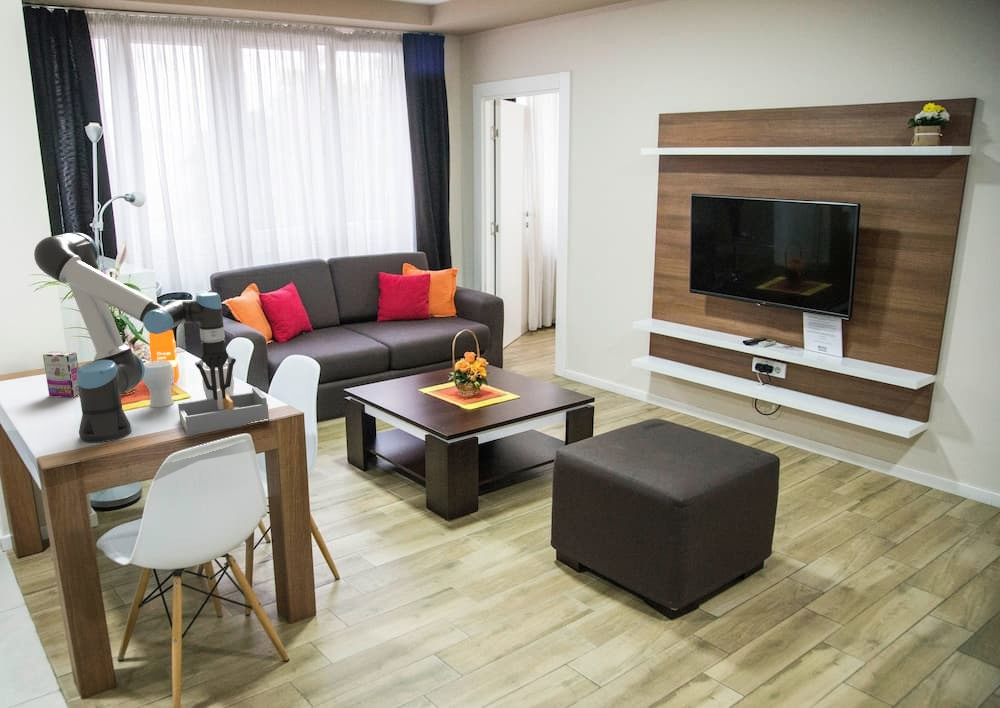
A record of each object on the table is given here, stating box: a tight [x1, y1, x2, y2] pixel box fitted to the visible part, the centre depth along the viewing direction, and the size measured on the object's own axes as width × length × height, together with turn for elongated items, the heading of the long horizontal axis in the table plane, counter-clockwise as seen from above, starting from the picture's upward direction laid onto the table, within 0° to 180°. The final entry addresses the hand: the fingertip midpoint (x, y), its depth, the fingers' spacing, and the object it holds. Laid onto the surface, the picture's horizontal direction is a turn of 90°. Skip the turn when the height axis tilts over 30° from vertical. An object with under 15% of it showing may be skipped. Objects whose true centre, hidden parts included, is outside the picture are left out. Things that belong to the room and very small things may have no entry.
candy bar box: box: [42, 351, 80, 398], centre depth 304 cm, size 11×5×16 cm, turn 76°
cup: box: [142, 361, 174, 408], centre depth 292 cm, size 11×11×15 cm
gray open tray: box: [177, 386, 270, 436], centre depth 274 cm, size 26×17×8 cm, turn 119°
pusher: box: [223, 392, 238, 410], centre depth 275 cm, size 4×14×7 cm, turn 29°
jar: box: [202, 362, 235, 399], centre depth 288 cm, size 11×10×15 cm
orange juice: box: [148, 329, 180, 382], centre depth 323 cm, size 8×9×20 cm
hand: (220, 408), depth 273 cm, fingers closed
